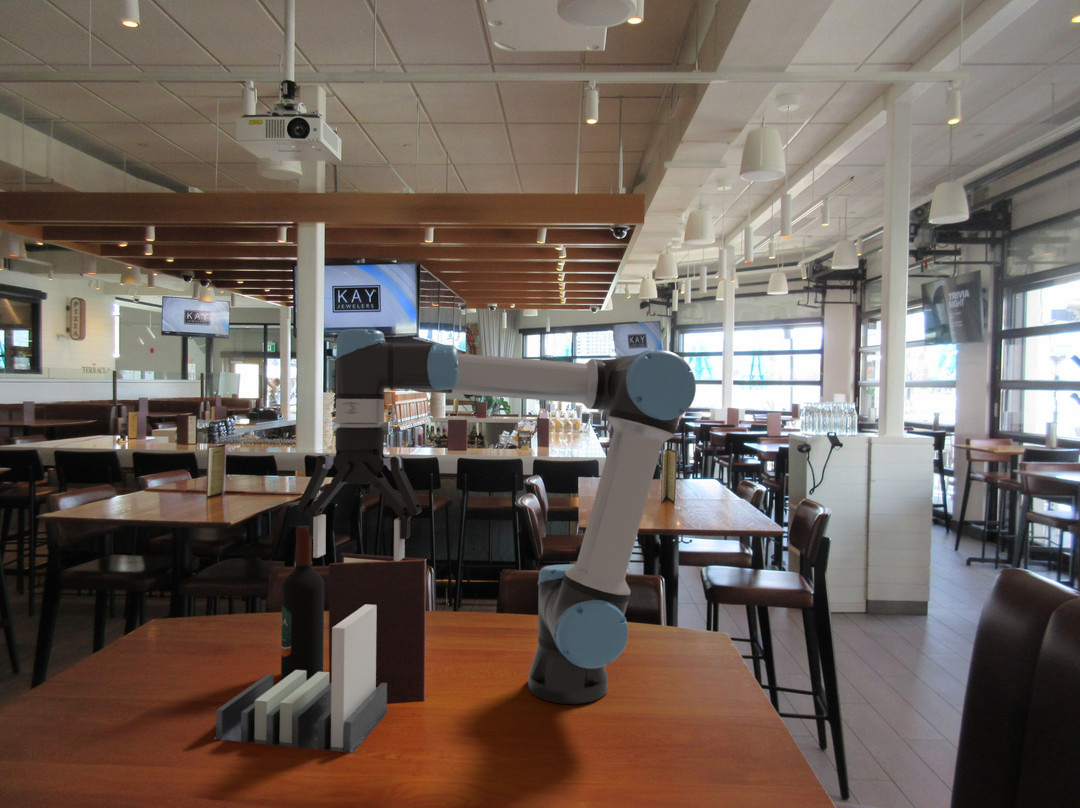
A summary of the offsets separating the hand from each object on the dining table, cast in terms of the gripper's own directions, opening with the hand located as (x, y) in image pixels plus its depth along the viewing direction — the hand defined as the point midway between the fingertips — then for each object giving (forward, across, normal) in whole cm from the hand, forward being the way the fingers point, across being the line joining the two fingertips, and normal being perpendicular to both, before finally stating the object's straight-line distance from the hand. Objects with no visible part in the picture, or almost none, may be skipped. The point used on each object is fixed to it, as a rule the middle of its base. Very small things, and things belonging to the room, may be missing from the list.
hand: (358, 557), depth 105 cm
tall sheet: (+27, 0, 0) cm, 27 cm away
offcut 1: (+27, -13, 0) cm, 30 cm away
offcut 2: (+27, -9, 0) cm, 29 cm away
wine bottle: (+29, -19, +17) cm, 38 cm away
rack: (+29, -9, 0) cm, 30 cm away
